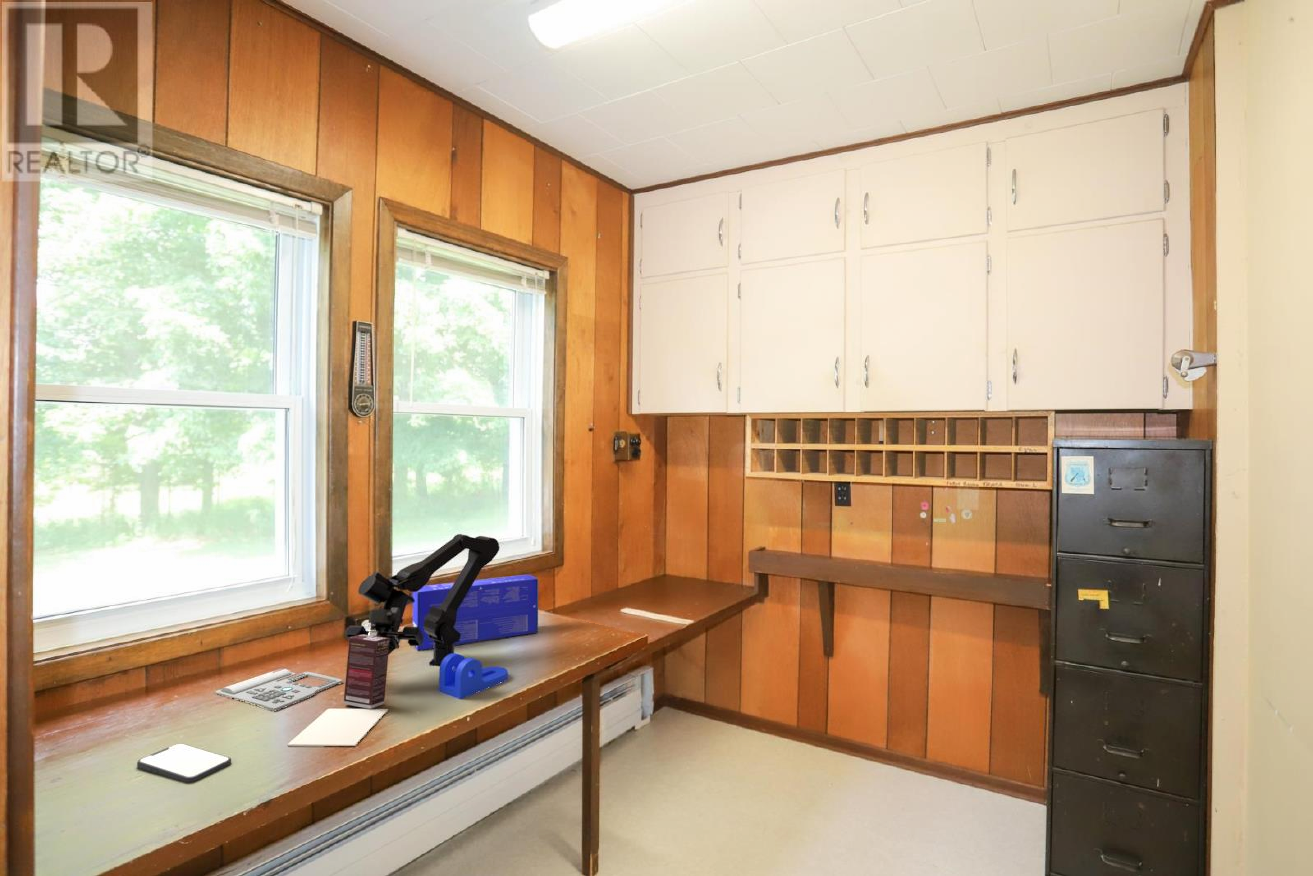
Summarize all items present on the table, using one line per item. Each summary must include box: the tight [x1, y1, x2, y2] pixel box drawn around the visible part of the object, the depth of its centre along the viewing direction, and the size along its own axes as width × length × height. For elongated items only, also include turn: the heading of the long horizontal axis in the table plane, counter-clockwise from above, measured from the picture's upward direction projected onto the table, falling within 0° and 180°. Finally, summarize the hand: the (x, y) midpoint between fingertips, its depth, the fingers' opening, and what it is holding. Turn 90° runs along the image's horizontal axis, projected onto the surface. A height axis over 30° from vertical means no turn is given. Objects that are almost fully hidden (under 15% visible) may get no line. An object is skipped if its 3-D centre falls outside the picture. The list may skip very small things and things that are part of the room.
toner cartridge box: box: [412, 574, 539, 652], centre depth 212 cm, size 39×8×18 cm, turn 121°
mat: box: [287, 708, 389, 747], centre depth 147 cm, size 18×14×1 cm
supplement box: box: [343, 634, 390, 709], centre depth 159 cm, size 9×5×16 cm, turn 71°
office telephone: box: [214, 667, 343, 712], centre depth 168 cm, size 23×3×20 cm
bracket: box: [438, 652, 509, 700], centre depth 173 cm, size 18×8×9 cm, turn 145°
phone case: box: [136, 743, 232, 784], centre depth 129 cm, size 9×2×16 cm
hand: (374, 666), depth 165 cm, fingers closed
